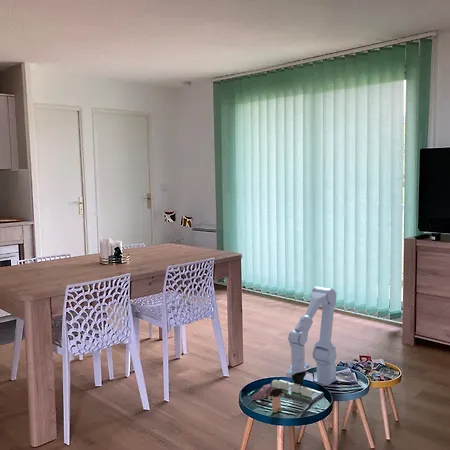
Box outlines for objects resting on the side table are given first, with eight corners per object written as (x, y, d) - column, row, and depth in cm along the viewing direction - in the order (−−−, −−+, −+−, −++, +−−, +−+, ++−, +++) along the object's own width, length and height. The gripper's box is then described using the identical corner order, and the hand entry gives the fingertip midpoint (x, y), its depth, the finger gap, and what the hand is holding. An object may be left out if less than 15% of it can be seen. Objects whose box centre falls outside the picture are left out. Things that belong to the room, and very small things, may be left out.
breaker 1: (281, 386, 227) (280, 379, 226) (288, 388, 224) (288, 381, 224) (278, 387, 226) (278, 380, 225) (286, 390, 223) (286, 382, 223)
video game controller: (259, 405, 216) (265, 393, 213) (250, 398, 218) (256, 386, 216) (271, 397, 224) (277, 385, 221) (263, 391, 226) (269, 378, 224)
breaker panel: (287, 385, 233) (287, 381, 233) (323, 395, 220) (323, 392, 220) (273, 392, 225) (273, 389, 225) (309, 404, 212) (309, 400, 212)
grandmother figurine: (278, 406, 211) (278, 376, 210) (285, 409, 208) (285, 378, 207) (265, 411, 206) (265, 381, 205) (272, 414, 203) (272, 384, 202)
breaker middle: (292, 389, 223) (292, 382, 223) (300, 392, 220) (300, 384, 220) (290, 390, 222) (290, 383, 222) (298, 393, 219) (298, 386, 219)
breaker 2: (303, 393, 219) (303, 386, 218) (311, 396, 216) (311, 388, 216) (301, 394, 217) (301, 387, 217) (309, 397, 215) (309, 389, 214)
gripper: (299, 351, 230) (300, 381, 231) (280, 360, 219) (281, 391, 220) (313, 355, 225) (313, 384, 226) (294, 364, 214) (294, 395, 215)
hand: (298, 388), depth 223 cm, fingers closed
